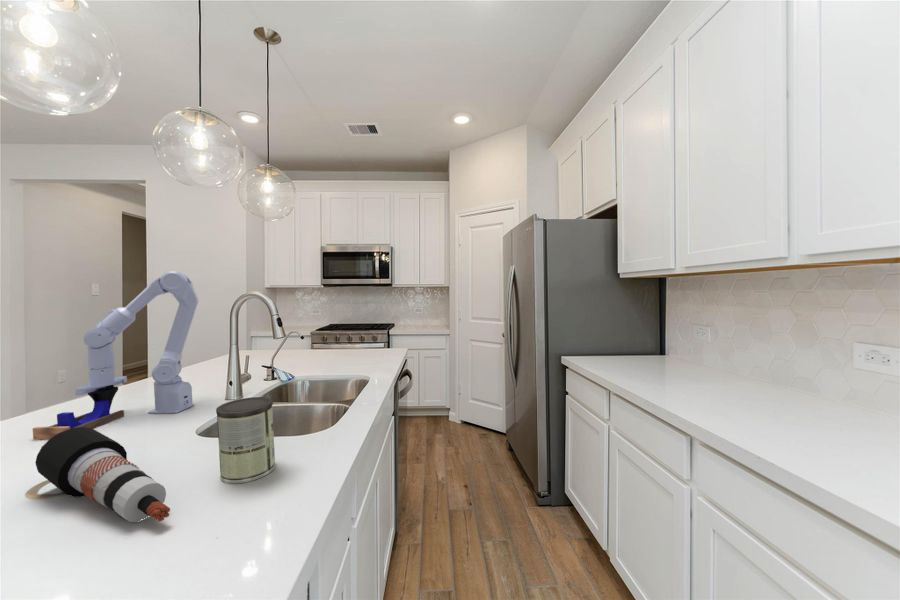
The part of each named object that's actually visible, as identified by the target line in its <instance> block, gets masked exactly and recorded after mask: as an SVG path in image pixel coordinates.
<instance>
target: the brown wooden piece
mask: <svg viewBox="0 0 900 600" xmlns="http://www.w3.org/2000/svg"><path fill="white" fill-rule="evenodd" d="M86 414H87V413H85V414H81V415H79V416H78V415H77V416H75V419H76V420H77V421H80V420H81V419H82V418H83V417H84V416H85V415H86ZM121 417H122V418H124V417H125V411H124V410H123V409H120V410H117V411H115V412H112V413H110V414H109V415H106V416H103V417H101V418H98V419H95V420H93V421H90V422H87V423H85V424H82V425H79V426H76V427H74V428H77V427H86V428H92V429H94V430H95V429H96V428H98V427H101V426H104V425H107V424H109V423H111V422H115V421H116V420H119V419H122V418H121ZM68 429H70V426H60V427H58V425H57V423H56V424H52V425H49V426H36V427H33V428H32V440H33V441H35V440H41V441H43V440H49V439H51V438H52V437H54V436H55V435H57V434H58V433H60V432H63V431H66V430H68Z"/></svg>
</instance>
